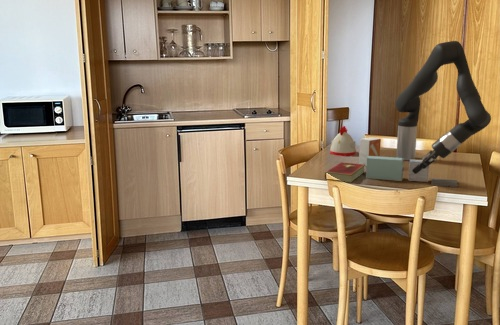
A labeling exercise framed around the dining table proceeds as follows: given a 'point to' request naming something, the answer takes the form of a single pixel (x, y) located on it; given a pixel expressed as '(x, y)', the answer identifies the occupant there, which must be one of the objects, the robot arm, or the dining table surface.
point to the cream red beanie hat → (343, 144)
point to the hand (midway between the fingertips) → (414, 170)
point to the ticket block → (384, 168)
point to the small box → (369, 149)
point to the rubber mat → (444, 182)
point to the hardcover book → (346, 171)
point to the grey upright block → (419, 176)
